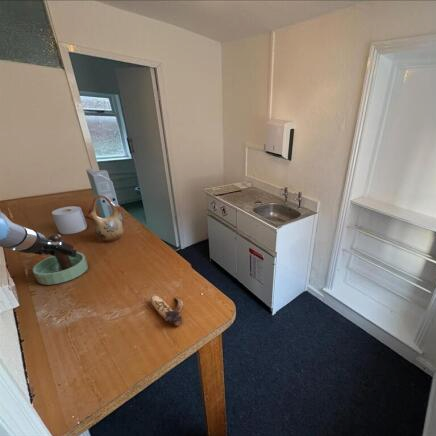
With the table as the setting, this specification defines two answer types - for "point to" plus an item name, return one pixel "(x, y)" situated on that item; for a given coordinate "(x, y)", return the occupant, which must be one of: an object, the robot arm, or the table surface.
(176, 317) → the bone fish hook
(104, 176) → the device
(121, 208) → the ceramic vessel
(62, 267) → the pestle
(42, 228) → the table surface
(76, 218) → the toilet paper roll
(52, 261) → the bowl
